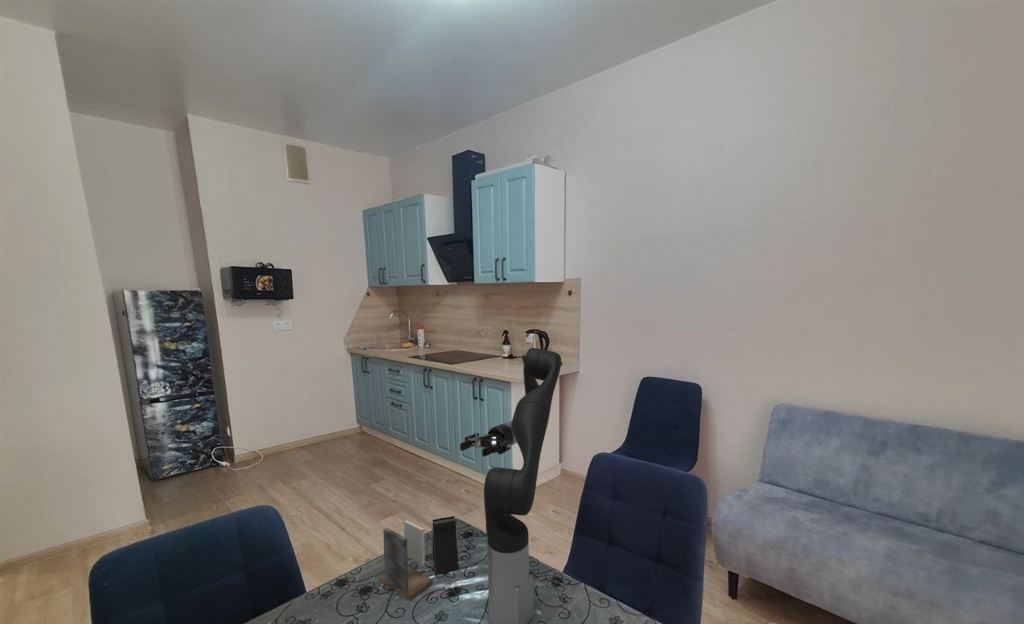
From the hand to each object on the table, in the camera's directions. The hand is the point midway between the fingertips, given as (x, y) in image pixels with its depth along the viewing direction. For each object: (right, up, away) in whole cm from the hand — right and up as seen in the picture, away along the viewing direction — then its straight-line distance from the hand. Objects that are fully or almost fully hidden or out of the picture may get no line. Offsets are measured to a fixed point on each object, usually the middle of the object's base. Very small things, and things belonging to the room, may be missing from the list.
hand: (471, 450), depth 117 cm
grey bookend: (-15, -29, -15) cm, 36 cm away
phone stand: (-7, -28, -7) cm, 30 cm away
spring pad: (-14, -27, -12) cm, 33 cm away
